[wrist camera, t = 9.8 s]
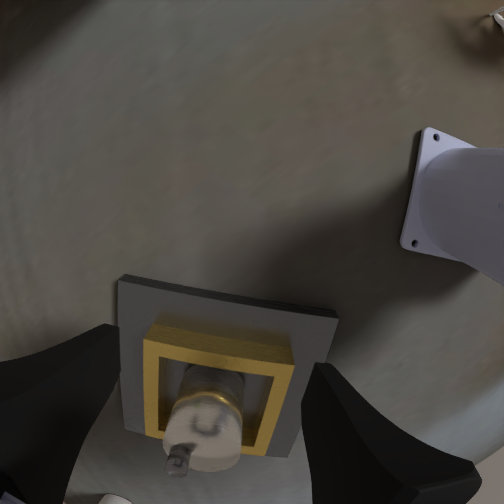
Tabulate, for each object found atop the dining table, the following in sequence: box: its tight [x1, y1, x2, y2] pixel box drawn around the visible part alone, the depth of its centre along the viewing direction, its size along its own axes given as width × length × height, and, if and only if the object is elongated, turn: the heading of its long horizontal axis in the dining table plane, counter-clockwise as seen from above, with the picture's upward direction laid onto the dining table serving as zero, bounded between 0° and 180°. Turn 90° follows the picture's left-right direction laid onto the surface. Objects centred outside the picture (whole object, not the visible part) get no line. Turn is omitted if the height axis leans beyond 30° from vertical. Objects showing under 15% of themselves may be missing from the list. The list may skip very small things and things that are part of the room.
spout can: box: [162, 364, 244, 478], centre depth 17 cm, size 4×4×8 cm
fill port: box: [118, 274, 339, 458], centre depth 20 cm, size 14×14×3 cm
